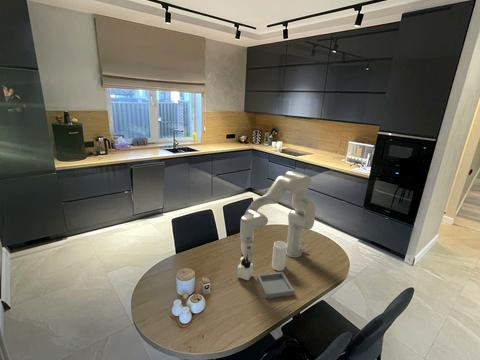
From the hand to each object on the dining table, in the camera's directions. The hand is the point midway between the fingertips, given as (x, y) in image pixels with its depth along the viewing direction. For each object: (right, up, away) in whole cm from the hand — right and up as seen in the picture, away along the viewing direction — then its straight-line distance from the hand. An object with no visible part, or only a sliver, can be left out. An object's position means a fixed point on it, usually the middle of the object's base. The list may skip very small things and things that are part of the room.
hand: (245, 263), depth 149 cm
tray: (+16, -12, -4) cm, 20 cm away
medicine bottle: (0, -8, +3) cm, 8 cm away
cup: (+21, -7, +14) cm, 26 cm away
